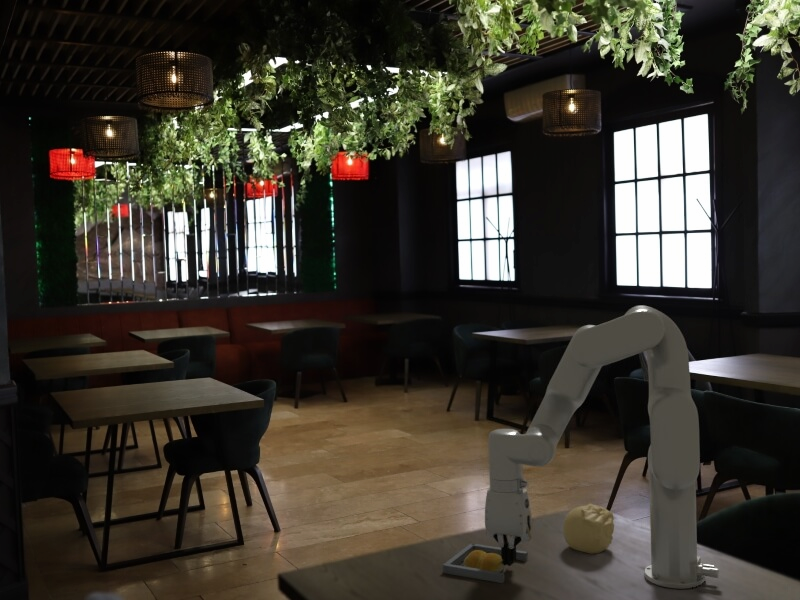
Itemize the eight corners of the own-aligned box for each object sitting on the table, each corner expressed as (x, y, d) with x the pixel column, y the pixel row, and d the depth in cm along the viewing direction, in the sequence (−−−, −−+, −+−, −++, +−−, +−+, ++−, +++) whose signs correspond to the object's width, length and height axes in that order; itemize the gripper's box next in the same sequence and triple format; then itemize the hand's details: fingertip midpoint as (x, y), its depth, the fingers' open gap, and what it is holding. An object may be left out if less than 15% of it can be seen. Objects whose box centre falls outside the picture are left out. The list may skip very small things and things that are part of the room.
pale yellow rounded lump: (606, 560, 192) (604, 515, 191) (556, 552, 198) (555, 508, 198) (620, 545, 202) (619, 501, 201) (573, 537, 208) (572, 495, 207)
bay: (527, 559, 195) (527, 551, 195) (502, 583, 182) (502, 575, 181) (471, 550, 202) (471, 543, 202) (442, 572, 189) (442, 565, 189)
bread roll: (496, 578, 185) (495, 560, 185) (460, 572, 189) (459, 555, 189) (510, 565, 192) (509, 548, 192) (474, 559, 197) (474, 543, 196)
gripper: (543, 483, 187) (546, 562, 188) (482, 476, 195) (485, 553, 196) (531, 492, 181) (534, 574, 182) (469, 485, 188) (472, 564, 189)
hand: (509, 563), depth 189 cm, fingers closed
